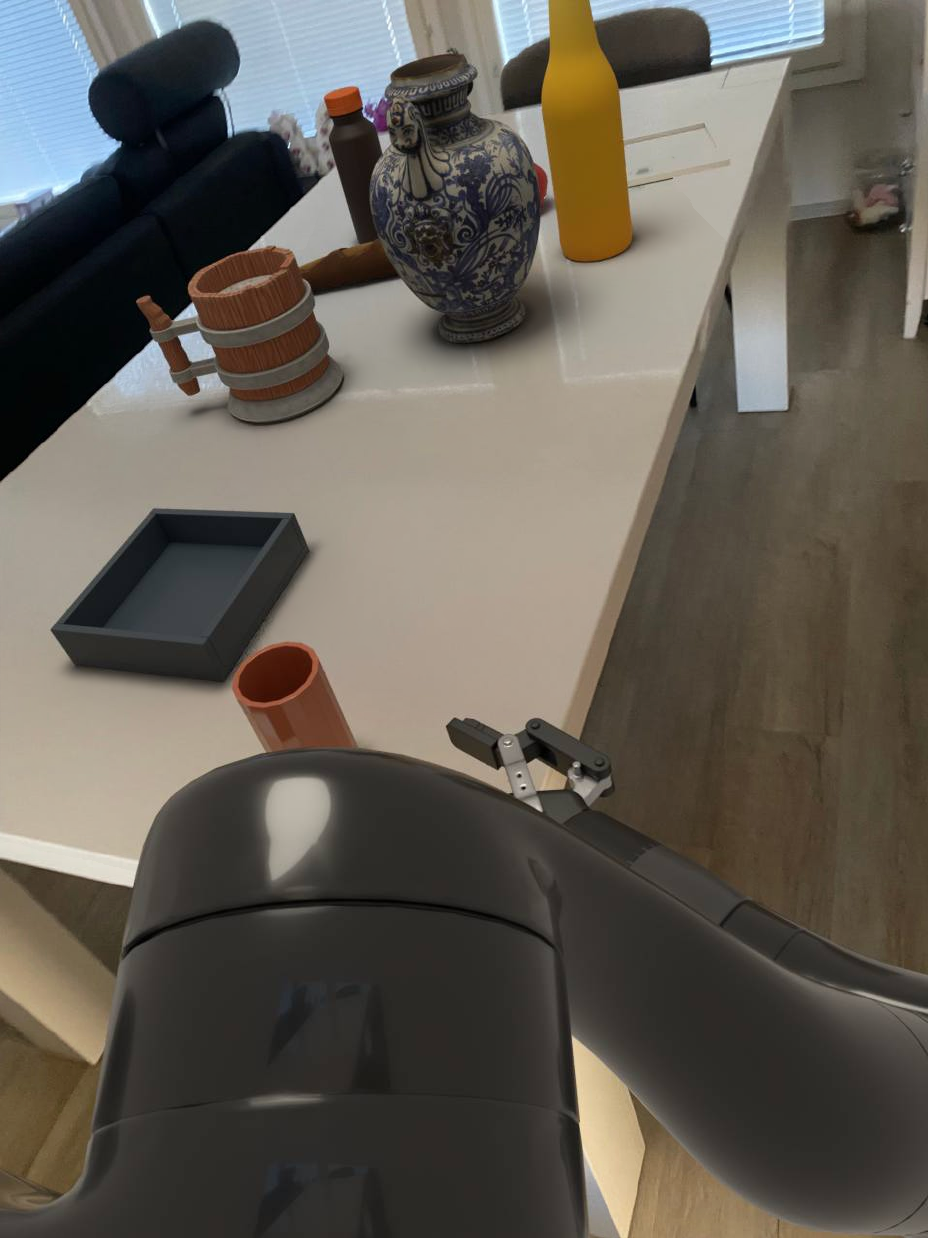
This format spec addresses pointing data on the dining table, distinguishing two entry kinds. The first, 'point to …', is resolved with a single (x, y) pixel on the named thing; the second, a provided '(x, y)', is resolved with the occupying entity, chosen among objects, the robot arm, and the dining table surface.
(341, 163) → the vinegar
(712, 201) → the dining table surface
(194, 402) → the dining table surface
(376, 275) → the bread
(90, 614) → the tray
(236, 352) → the mug
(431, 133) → the decorative vase
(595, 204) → the beer bottle
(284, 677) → the tumbler
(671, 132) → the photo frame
